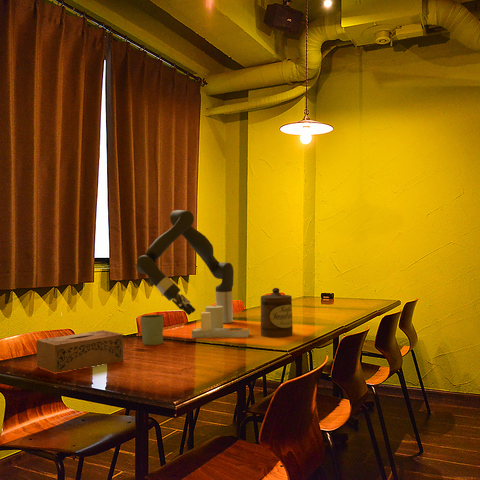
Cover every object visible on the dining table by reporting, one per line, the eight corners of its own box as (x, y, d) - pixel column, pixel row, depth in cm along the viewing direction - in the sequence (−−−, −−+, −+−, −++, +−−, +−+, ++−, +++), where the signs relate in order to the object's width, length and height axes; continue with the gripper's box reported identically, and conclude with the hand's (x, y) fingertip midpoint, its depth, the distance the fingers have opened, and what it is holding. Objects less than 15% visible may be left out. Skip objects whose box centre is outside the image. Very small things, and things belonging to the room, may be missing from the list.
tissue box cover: (103, 356, 187) (102, 330, 187) (123, 361, 177) (122, 334, 177) (36, 368, 168) (36, 340, 168) (55, 375, 158) (54, 345, 158)
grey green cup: (158, 345, 204) (158, 317, 204) (136, 345, 206) (136, 317, 206) (167, 341, 214) (166, 314, 214) (145, 340, 216) (145, 314, 216)
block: (202, 335, 227) (202, 312, 227) (211, 335, 226) (210, 312, 227) (201, 336, 223) (200, 313, 223) (209, 336, 222) (209, 313, 223)
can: (224, 327, 247) (224, 304, 248) (222, 330, 238) (221, 306, 239) (207, 328, 248) (206, 304, 249) (203, 331, 239) (203, 306, 239)
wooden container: (276, 339, 214) (275, 289, 214) (254, 334, 225) (253, 288, 226) (299, 334, 223) (298, 287, 224) (277, 331, 235) (276, 286, 235)
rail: (195, 334, 229) (195, 327, 229) (249, 334, 227) (249, 327, 227) (191, 337, 221) (191, 330, 221) (247, 337, 219) (247, 330, 219)
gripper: (169, 283, 220) (195, 308, 218) (177, 281, 234) (200, 305, 232) (158, 295, 220) (183, 320, 219) (166, 292, 234) (190, 316, 233)
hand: (192, 312), depth 225 cm, fingers open, 8 cm apart
